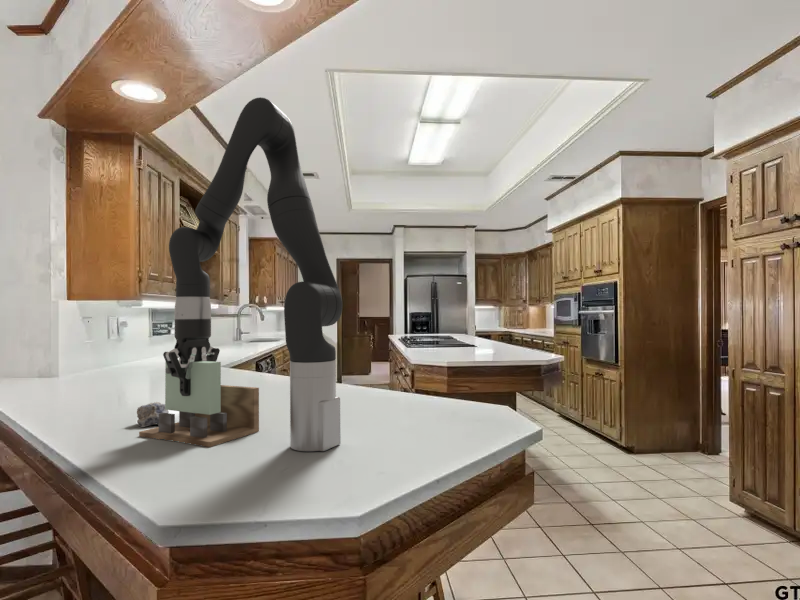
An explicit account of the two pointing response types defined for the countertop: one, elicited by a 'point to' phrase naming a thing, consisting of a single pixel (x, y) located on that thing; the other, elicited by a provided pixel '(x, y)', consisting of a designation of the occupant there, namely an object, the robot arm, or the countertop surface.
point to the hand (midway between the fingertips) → (192, 394)
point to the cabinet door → (196, 389)
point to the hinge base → (213, 420)
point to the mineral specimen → (150, 413)
